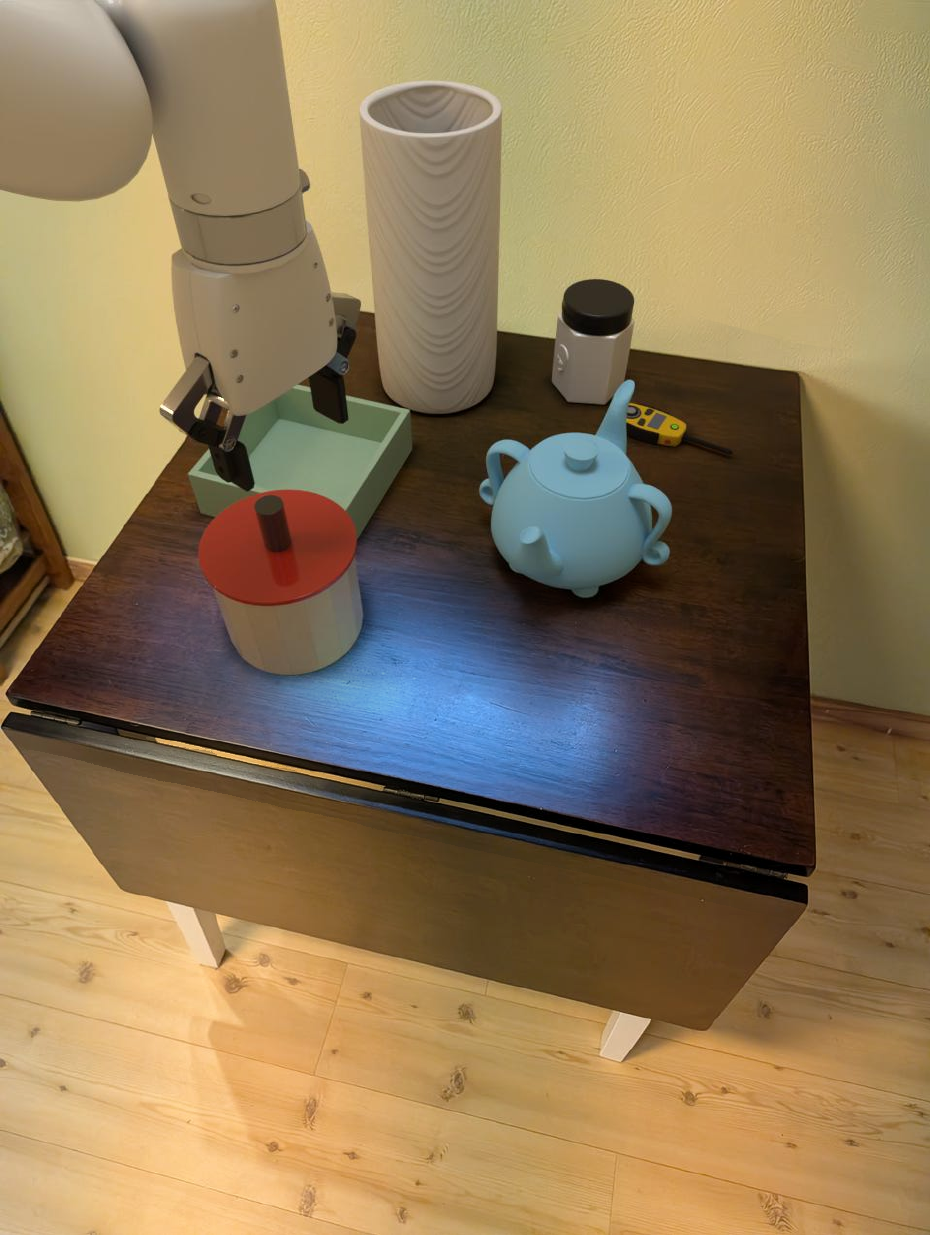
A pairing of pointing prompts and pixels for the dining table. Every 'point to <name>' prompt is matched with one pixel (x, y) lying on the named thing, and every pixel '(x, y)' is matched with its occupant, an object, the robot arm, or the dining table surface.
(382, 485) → the green square tray
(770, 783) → the dining table surface
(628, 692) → the dining table surface
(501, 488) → the teapot
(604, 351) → the jar
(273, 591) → the lid
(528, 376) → the dining table surface
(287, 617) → the pot
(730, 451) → the remote control
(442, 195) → the vase
